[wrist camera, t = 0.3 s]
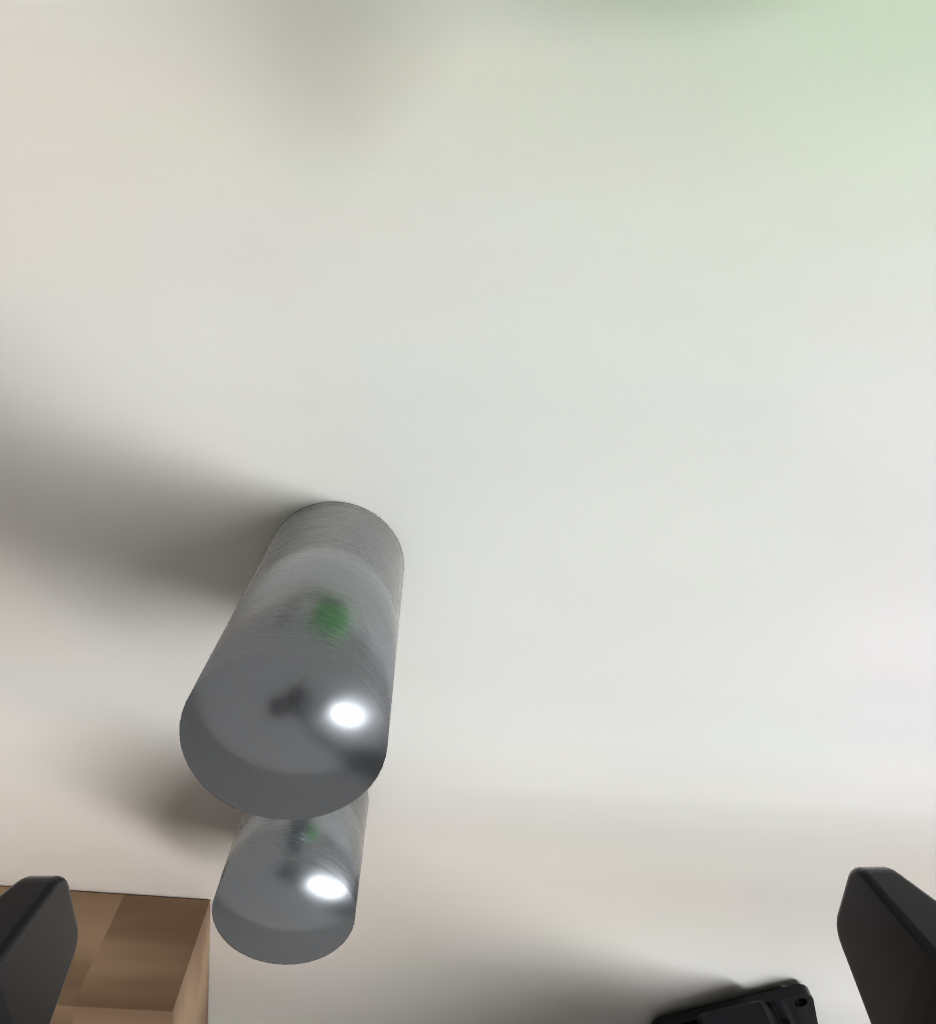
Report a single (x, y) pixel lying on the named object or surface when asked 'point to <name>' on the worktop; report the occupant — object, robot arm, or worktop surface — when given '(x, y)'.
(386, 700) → the tall pin
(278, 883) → the short pin
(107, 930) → the hole block
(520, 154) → the worktop surface
